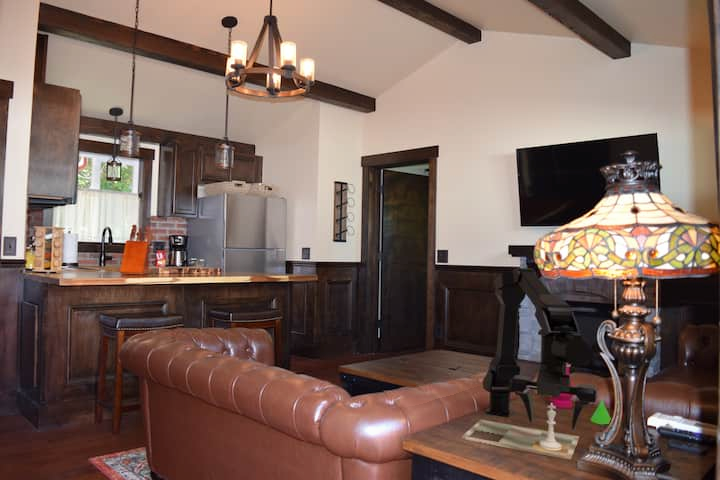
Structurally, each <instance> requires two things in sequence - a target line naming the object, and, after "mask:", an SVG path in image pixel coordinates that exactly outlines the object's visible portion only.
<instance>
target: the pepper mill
mask: <svg viewBox="0 0 720 480" xmlns="http://www.w3.org/2000/svg"><path fill="white" fill-rule="evenodd" d="M570 367H571V364H568V363H567V372H566V375H570ZM570 386H574V385H573V383H572V380H571V379H570ZM573 397H574V395H571V394H563V393H560V396H559V397H552V396H551V398H549V405H551V403H553V406H556V409H557V408H558V409H572V407H573V400H571V399H572V398H573Z"/></svg>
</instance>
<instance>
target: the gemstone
mask: <svg viewBox="0 0 720 480" xmlns="http://www.w3.org/2000/svg"><path fill="white" fill-rule="evenodd" d="M610 420H612V418H611V416H610V413H609V412H608V410H607V408H606V405H605V404H604V401H603V400H601V401H600V402H599V405H598V406H597V408H596V410H595V411H594V412H593V414H592V416H591V418H590V421H591V422H592V423H595V424H598V425H604V424H609V422H610Z"/></svg>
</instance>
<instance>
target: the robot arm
mask: <svg viewBox="0 0 720 480" xmlns="http://www.w3.org/2000/svg"><path fill="white" fill-rule="evenodd" d="M493 283H494V289H495V294H494V295H495V296H496V298H497V300H498V302H499V304H500V305H499V307H500V308H499V317H498V318H499V319H498V330H497V331H498V332H497V343H496V345H497V346H496V354H495V355H494V357H493V358H492V359H491V361H490V362H489V366H488V371H487V372H486V374H485V375H484V378H483V379H482V388H483V390H484V391H486V392H488V393H489V403H488V404H489V405H488V406H489V407H488V408H487V409H486V410H485V414H491V415H496V416H497V415H498V416H504V417H510V416H511V415H512V414H513V412H514V409H511V393H515V395H516V396H519V397H520V399H521V400H522V402H523V404H524V407H525V411H526V413H527V416H528V417H527V418H528V420H529V423H533V419H534V404H533V390H536V393H537V395H539V396H551V398H552V397H559V396H560V393H563V394H571V395H573V396H576V399H575V401H574V407H573V416H572V420H571V421H572V422H571V430H572V431H574V430H575V428H576V426H577V423H578V420H579V417H580V415H581V412H582V410H583V408H584V407H585V406H589V405H590V404H591V403H596V402H597V400H598V396H599V395H598V393H599V392H598V391H599V390H598V389H599V388H598V387H597V386H596V385H595V384H587V383H580V382H579V383H578V384H577V386H574V385H573V386H570V380H571V376H570V374H569V375H566V372H567V363H568V364H570V365H572V366H575V367H581V366H583V365H585V364H586V363H587V362H588V361H589V359H590V357H591V356H590V355H591V350H590V346H589V345H588V343H587V342H586V341H585V340H583V339H582V338H583V337H582V333H581V331H580V328H581V327H580V325H579V323H578V321H577V319H576V316H575V314H574V313H575V312H574V311H573V309H572V306H571V305H569V304H568V303H567V302H566V301H565V300H563V299H561V298H559V297H556V296H554V295H553V294H552V293H551V292H550V290H549V289H548V288H547V286H545V284H544V283H543V282H542V280H541V279H540V277H538V275H537V272H536V270H535V269H534V268H531V267H530V268H528V267H517V268H514V269H512V270H510V271H506V272H502V273H499V274H498V275H497V276H496V277H495V278H494V282H493ZM526 297H527V298H528V299H529V301H530V302H531V303H532V304H533V306H534V308H535V311H534V317H535V319H536V321H537V323H538V325H539V327H540V330H538V332H537V335H539V336H540V337H541V339H540V366H539V367H540V369H539V370H538V373H537V378H536V381H535V380H532V379H531V376H527V375H521V374H520V373H521V367H520V365H519V364H518V362H517V360H516V359H515V350H516V340H517V327H518V325H517V324H518V314H519V308H520V307H519V306H520V305H521V304H522V302H523V301H524V300H525V298H526Z"/></svg>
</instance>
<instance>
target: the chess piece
mask: <svg viewBox="0 0 720 480" xmlns="http://www.w3.org/2000/svg"><path fill="white" fill-rule="evenodd" d="M547 408H548V409H549V410H546V415H547V418H548V420H546V424H548V429H547V431H548V434H547V438H546V439H545V440H542V441H540V444H539V446H540V447H541V448H543V449H547V450H553V451H558V450H561V449H562V447H561V444H560V443H558V442H556V440H555V438H554V430H555V429H554V425H557V423H556V421H555V420H554V419H555V417H556V414H557V412H556V411H555V410H553V409H557V407H556V406H553V403H551V405H550V404H549V405H547Z"/></svg>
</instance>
